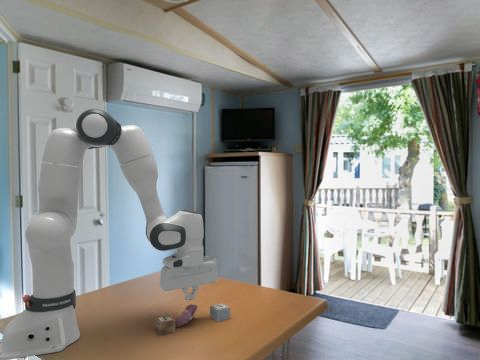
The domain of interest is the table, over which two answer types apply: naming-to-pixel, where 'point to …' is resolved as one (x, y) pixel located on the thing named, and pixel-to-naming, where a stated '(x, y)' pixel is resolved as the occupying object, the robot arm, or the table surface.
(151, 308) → the table surface
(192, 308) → the video game controller
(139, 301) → the table surface
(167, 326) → the walnut block
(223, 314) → the slate grey block
